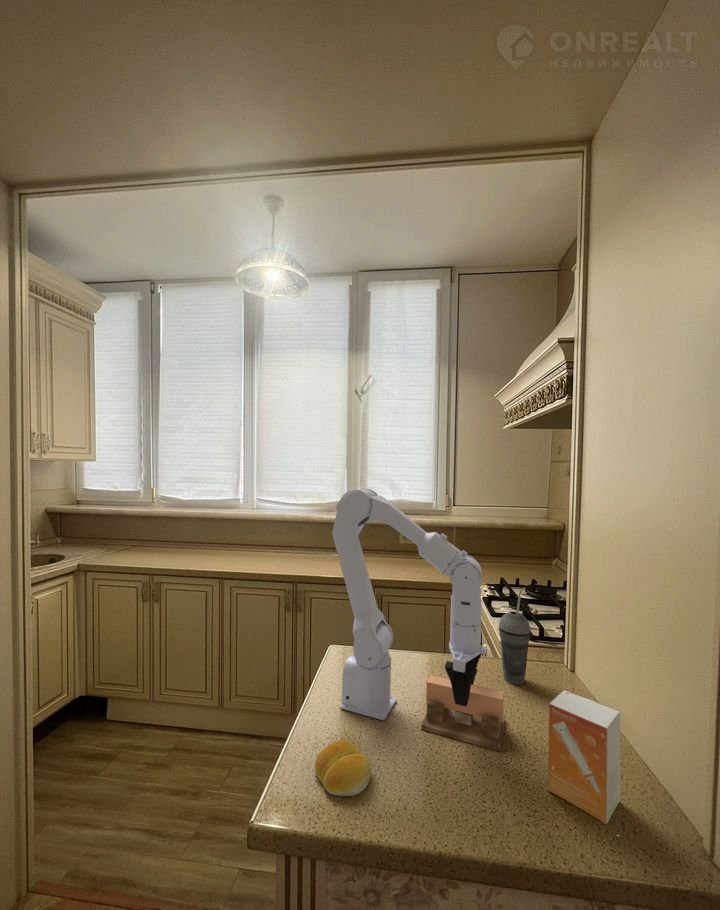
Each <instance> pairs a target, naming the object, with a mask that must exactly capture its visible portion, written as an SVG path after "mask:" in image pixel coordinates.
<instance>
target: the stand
mask: <svg viewBox="0 0 720 910" xmlns="http://www.w3.org/2000/svg"><path fill="white" fill-rule="evenodd" d="M505 717H506V716H505V715H503V723H502V722H499V718H496V717H493V716H489V715H485V714H482V716H481V717H479V716H475V715H471V714H467V713H463V712H459V711H455V710H452V709H448V708H444V704H441V703H437V702H433V701H429V700H428V701H427V703H426V713H425V716H424V718H423V719H422V720H423V721H422V722H421V726H420V727H421V728H420V729H421V730H422V731H427V732H429V733H433V734H437V735H441V736H444V737H447V738H452V739H455V740H458V741H462V742H465V743H469V744H472V745H475V746H479V747H483V748H486V749H490V750H493V751H497V752H502V747H503V746H502V745H503V736H504V729H505V728H504V727H505V720H506V719H505Z"/></svg>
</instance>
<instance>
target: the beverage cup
mask: <svg viewBox="0 0 720 910" xmlns="http://www.w3.org/2000/svg"><path fill="white" fill-rule="evenodd" d="M521 597H522V595H521V594H520V593H519V594H518V599H517V606H516V611H513V610H512V611H508V612H506V613H504V614H503V615H502V616H501V618H500V619H499V625H498V627H497V628H498V633H499V637H500V648H501V649H500V650H501V660H502V663H501V664H502V672H503V673H502V674H503V679H504V681H505V682H506V683H508V682H509V684H512V685H514V684H522V683H525V679H526V673H527V662H528V661H527V660H528V651H529V642H530V640H531V635H532V630H531V626H530V625H531V624H530V623H529V621H528V619H527V618H526V616H524V615H523V613H520V606H521ZM522 685H523V684H522Z"/></svg>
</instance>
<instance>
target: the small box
mask: <svg viewBox="0 0 720 910" xmlns="http://www.w3.org/2000/svg"><path fill="white" fill-rule="evenodd" d="M548 706H549V707H548V709H549V710H548V754H547V755H548V757H547V758H548V759H547V762H548V763H547V766H548V767H547V771H548V772H547V790H548V791H549V792H550V793H552V794H555V795H556V796H557V797H560V798H561V799H563V800H565V801H566V802H567V803H570V804H572V805H573V806H575V807H577V808H579V809H580V810H582V811H584V812H585V813H587V814H589V815H590V816H591V817H594V819H595V818H596V819H597V820H598V821H600V822H601V823H603V824H605V825H608V823H609V821H610V819H611V817H612V816H613V814H614V811H615V810H616V808H617V806H618V805H619V803H620V801H621V800H620V798H621V711H618V710H616V709H613V708H611V707H608V706H606V705H604V704H600V703H598V702H596V701H595V700H592V699H589V698H586V697H584V696H580V695H577V694H574V693H573V692H570V691H567V690H563V691H561V692H560V693H559V694H558V695H557V696H555V698H554V699H553V700H552V701H551V702H550V703H549V705H548Z"/></svg>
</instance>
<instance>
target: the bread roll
mask: <svg viewBox="0 0 720 910" xmlns="http://www.w3.org/2000/svg"><path fill="white" fill-rule="evenodd" d="M314 770H315V774H316V776H317V778H318V779H319V781H320V783H321V784H322V785H323V787H324V788H325V790H326V791H327V792H328V794H329V795H332V796H338V797H354V796H357V795H359V794H360V793H362V792H363V791H364V790H365V789H366V788H367V787H368V785H369V783H370V780H371V775H372V768H371V762H370V760H369V759H368V757H367V756H365V755H364V754H363V753H362V751H361V750H360V749H359V748H358V746H356V745H355V744H353V743H352V742H350V741H347V740H336V741H333V742H331V743H329V744H328V745H327V746H325V747H323V749H321V751H320V752H319V753H318V755H317V757H316V758H315V762H314Z"/></svg>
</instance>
